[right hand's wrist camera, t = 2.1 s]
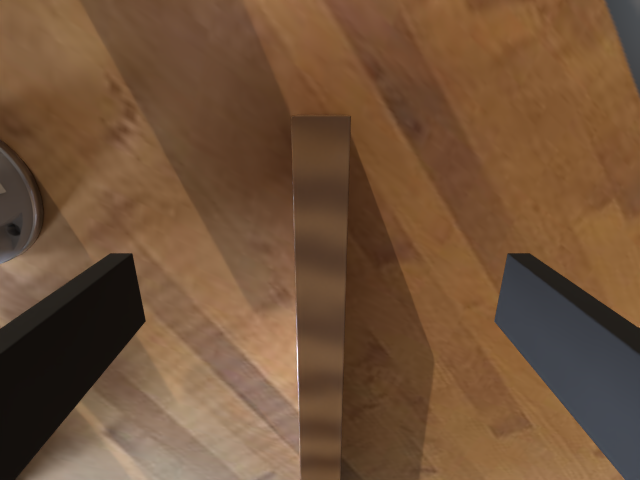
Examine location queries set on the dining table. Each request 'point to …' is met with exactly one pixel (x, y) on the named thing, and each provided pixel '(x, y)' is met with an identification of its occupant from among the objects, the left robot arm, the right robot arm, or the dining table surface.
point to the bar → (320, 285)
